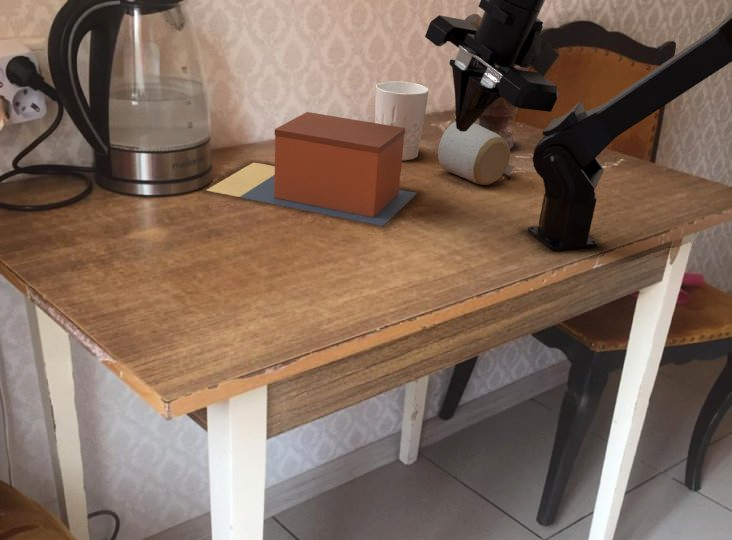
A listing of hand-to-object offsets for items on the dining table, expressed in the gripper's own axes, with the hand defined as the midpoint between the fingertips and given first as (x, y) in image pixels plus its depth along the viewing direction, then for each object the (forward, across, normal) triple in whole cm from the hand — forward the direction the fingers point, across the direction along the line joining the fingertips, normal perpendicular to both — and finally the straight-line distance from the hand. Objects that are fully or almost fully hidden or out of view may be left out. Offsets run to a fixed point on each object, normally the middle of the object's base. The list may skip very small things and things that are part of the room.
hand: (460, 130), depth 105 cm
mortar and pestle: (+12, +20, -28) cm, 36 cm away
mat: (+16, +12, +9) cm, 22 cm away
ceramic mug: (+11, +9, -16) cm, 22 cm away
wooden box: (+15, +10, +7) cm, 19 cm away
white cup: (+15, +22, -12) cm, 29 cm away
